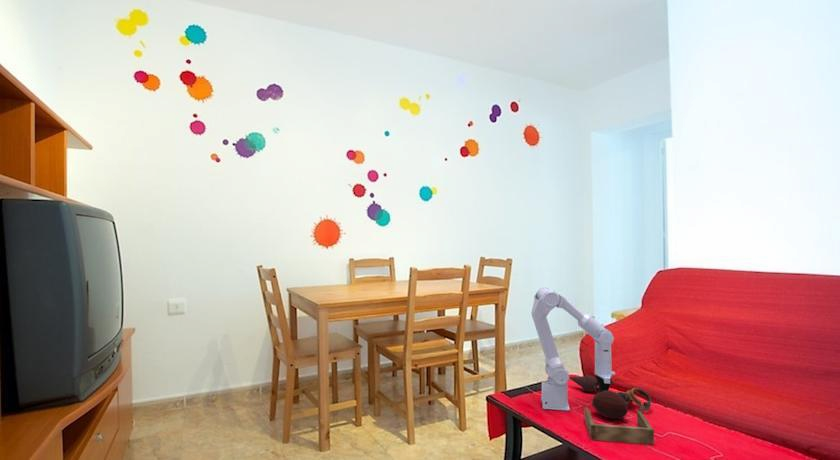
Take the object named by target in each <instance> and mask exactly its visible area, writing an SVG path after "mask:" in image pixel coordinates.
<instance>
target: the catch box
mask: <svg viewBox="0 0 840 460" xmlns="http://www.w3.org/2000/svg"><path fill="white" fill-rule="evenodd" d="M583 412H584V422H585V425H586V428H587V431H588V433H589V437H590V439H591V440H595V441H605V442H616V443H617V442H618V443H629V444H638V445H639V444H640V443H641V444H642V445H651V444H652V445H653V446H654V445H655V429H654V428H653V426H652V425H651V424H650V422H649V421H648V419H647V418H646V416H645V415H644V414H643V413H642V412H641V411H638V410H636V423H637V424H638V425H637V426H627V425H615V424H604V423H602V424H601V423H595V421H594V418H593V417H592V413H591V411H590V409H589V407H584V411H583Z"/></svg>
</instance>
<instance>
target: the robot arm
mask: <svg viewBox="0 0 840 460" xmlns="http://www.w3.org/2000/svg"><path fill="white" fill-rule="evenodd" d="M555 308H558V309H562V310H564V311H565V312H567V313H568V314H569V315H570V316H571V317H572V318H574V319H575V320H577V325H578V327H580V328H581V329H582V330H583V331H585V332H586V333H587V334H588V336H590V337H592V339H593V340H594V378H595V379H596V380H597V383H598V387H599V392H602V391H610V387H611V385H612V383H613V379H612V376H615V375H616V372H615V371H613V370H612V344H613V343H614V341H615V337H614V335H613V332H612V331H610V330H609V329H606V328H605V325H604V323H600V322H599V321H597V319H595V318H596V317H595V316H594V315H593V314H590V313H583V312H582V311H580V310H579V309H578V308H577V307H576V306H575V305H574V304H573V303H572V302H570V301H569V300H568V299H567V298H565V296H562V295H561V294H560V293H558V292H556V291H555V290H551V289H550V288H549V287H542V288H541V287H540V288H539V289H538V290H537V292H535V294H534V296H533V305H532V308H531V313H530V314H531V318H532V320H533V324H534V327H535V330H536V333H537V336H538V339H539V343H540V346H541V349H542V352H543V355H544V358H545V359H544V363H545V373H546V374H547V376H548V377H547V379H546V380H545V381H544V380H543V381H541V396H540V401H541V404H542V409H543V410H554V411H555V410H557V411H570V410H571V409H570V406H569V401H568V382H569V380H570V378H569V377H570V374H569V371H568V370H567V369H566V368H565V366H564V364H563V361H562V360H561V358H560V356H559V352H558V349H557V346H556V343H555V340H554V337H553V334H552V330H551V327H550V325H549V320H548V319H547V317H548V315H549V313H550V312H551V311H552V310H554V309H555ZM599 392H598V393H599Z"/></svg>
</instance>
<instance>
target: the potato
mask: <svg viewBox="0 0 840 460" xmlns="http://www.w3.org/2000/svg"><path fill="white" fill-rule="evenodd" d="M617 393H618V392H616V391H612V390H609V391H602V392H597V393H596V394H595V395H594V396H593V398H592V399H591V403H592V406H593V408H594V409H595V410H596V412H597V413H598V414H600V415H601V416H602V417H605V418H607V419H613V420H619V419H622V418H624V417H626V415H627V413H628V411H629V406H628V405H629V404H628V403H627V402H626V401H625V400H624V398H623V397H621V396H620V395H618V394H617Z"/></svg>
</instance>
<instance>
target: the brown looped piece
mask: <svg viewBox="0 0 840 460" xmlns="http://www.w3.org/2000/svg"><path fill="white" fill-rule="evenodd" d="M636 392H637V393H638V395H641V396H643V397H645V398H646V401H643V403H642V400H641V399H639V398H638V397H637V396H636V395H635V394H634V393H636ZM616 393H617V394H618V395H620V396H621V397H623V398H624V400H625V401H626V402H627V404H633V403H634V404H635V405H637V406H638V407H639V408H638V409H637V411H641V412H642V414H643V413H644V412H646V411H648V410H650V408H651V406H652V405H651V403H652V397H651V396H650V395H649V393H647V392H646V391H645V390H643V389H641V388H638V387H633V388H632V389H629V390H626V391H625V392H623V391H618V392H616Z"/></svg>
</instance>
